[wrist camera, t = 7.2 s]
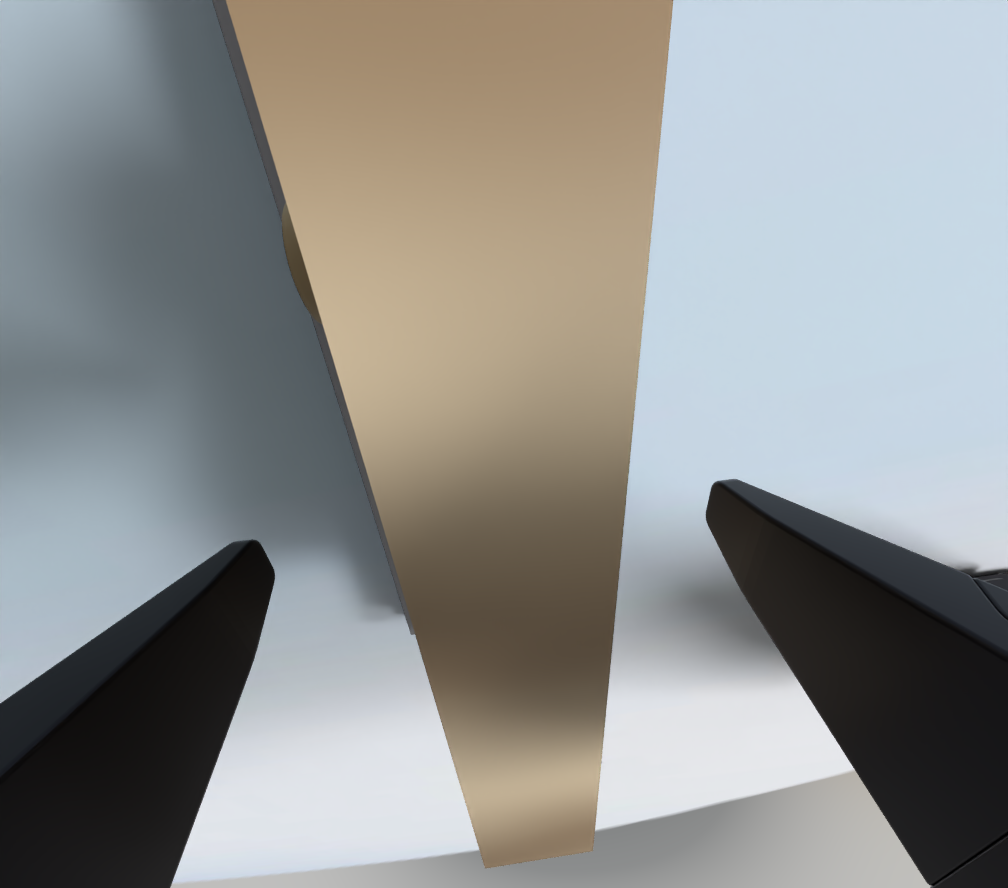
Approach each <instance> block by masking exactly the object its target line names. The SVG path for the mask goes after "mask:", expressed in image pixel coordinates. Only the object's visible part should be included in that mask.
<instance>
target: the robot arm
mask: <svg viewBox="0 0 1008 888" xmlns="http://www.w3.org/2000/svg"><path fill="white" fill-rule="evenodd" d="M706 521H707V524H708V526H709V528H710V530H711V532H712V534H713V536H714V538H715V540H716V542H717V544H718V546H719V548H720V550H721V552H722V554H723V556H724V558H725V560H726V562H727V564H728V566H729V568H730V570H731V572H732V574H733V576H734V578H735V580H736V582H737V584H738V586H739V588H740V589H741V591H742V593H743V595H744V596H745V598H746V600H747V601H748V603H749V604H750V606H751V608H752V609H753V611H754V612H755V614H756V615H757V617H758V619H759V620H760V622H761V623H762V625H763V626H764V628H765V630H766V631H767V633H768V634H769V636H770V637H771V639H772V640H773V642H774V644H775V645H776V647H777V648H778V650H779V651H780V653H781V655H782V656H783V658H784V659H785V661H786V662H787V664H788V666H789V667H790V669H791V670H792V672H793V673H794V675H795V677H796V678H797V680H798V681H799V683H800V684H801V686H802V688H803V689H804V691H805V692H806V694H807V695H808V697H809V699H810V700H811V702H812V703H813V705H814V706H815V708H816V710H817V711H818V713H819V714H820V716H821V717H822V719H823V721H824V722H825V724H826V725H827V727H828V728H829V730H830V732H831V733H832V735H833V736H834V738H835V739H836V741H837V742H838V744H839V746H840V747H841V749H842V750H843V752H844V753H845V755H846V757H847V758H848V760H849V761H850V763H851V764H852V766H853V768H854V769H855V771H856V772H857V774H858V775H859V777H860V779H861V780H862V782H863V783H864V785H865V786H866V788H867V789H868V791H869V793H870V794H871V796H872V797H873V799H874V801H875V802H876V804H877V805H878V807H879V808H880V810H881V812H882V813H883V815H884V816H885V818H886V819H887V821H888V822H889V824H890V826H891V827H892V829H893V830H894V832H895V833H896V835H897V836H898V838H899V840H900V841H901V843H902V845H903V846H904V847H905V849H906V851H907V852H908V854H909V855H910V857H911V858H912V860H913V862H914V863H915V865H916V866H917V868H918V870H919V871H920V873H921V874H922V876H923V877H924V879H925V880H926V882H927V883H928V884H929V885H931V887H930V888H1008V573H1004V574H996V575H989V576H982V577H975V578H972V577H971V576H970V575H968V574H965V573H963V572H961V571H958V570H956V569H953V568H951V567H948V566H946V565H944V564H941V563H939V562H936V561H934V560H931V559H929V558H927V557H924V556H922V555H919V554H917V553H914V552H912V551H910V550H907V549H905V548H902V547H900V546H897V545H895V544H893V543H890V542H888V541H885V540H883V539H880V538H878V537H876V536H873V535H871V534H868V533H866V532H863V531H861V530H859V529H856V528H854V527H851V526H849V525H846V524H844V523H842V522H839V521H837V520H834V519H832V518H829V517H827V516H825V515H822V514H820V513H817V512H815V511H812V510H810V509H808V508H805V507H803V506H800V505H798V504H795V503H793V502H791V501H788V500H786V499H783V498H781V497H779V496H776V495H774V494H771V493H769V492H766V491H764V490H762V489H759V488H757V487H754V486H752V485H749V484H747V483H745V482H742V481H740V480H737V479H729V480H721V481H717V482H715V483H714V484H713V485H712V487H711V491H710V496H709V501H708V505H707V510H706ZM274 581H275V573H274V569H273V567H272V565H271V563H270V561H269V559H268V557H267V555H266V553H265V551H264V549H263V547H262V545H261V544H260V543H259V542H258V541H257V540H244V541H237V542H233V543H231V544H229V545H228V546H226V547H225V548H223V549H222V550H220V551H219V552H218V553H216V554H215V555H213V556H212V557H210V558H209V559H207V560H206V561H205V562H203V563H202V564H200V565H199V566H197V567H196V568H194V569H193V570H192V571H190V572H189V573H187V574H186V575H184V576H183V577H182V578H180V579H179V580H177V581H176V582H174V583H173V584H171V585H170V586H169V587H167V588H166V589H164V590H163V591H161V592H160V593H159V594H157V595H156V596H154V597H153V598H151V599H150V600H148V601H147V602H146V603H144V604H143V605H141V606H140V607H138V608H137V609H135V610H134V611H133V612H131V613H130V614H128V615H127V616H125V617H124V618H123V619H121V620H120V621H118V622H117V623H115V624H114V625H112V626H111V627H110V628H108V629H107V630H105V631H104V632H102V633H101V634H100V635H98V636H97V637H95V638H94V639H92V640H91V641H89V642H88V643H87V644H85V645H84V646H82V647H81V648H79V649H78V650H76V651H75V652H74V653H72V654H71V655H69V656H68V657H66V658H65V659H64V660H62V661H61V662H59V663H58V664H56V665H55V666H53V667H52V668H51V669H49V670H48V671H46V672H45V673H43V674H42V675H40V676H39V677H38V678H36V679H35V680H33V681H32V682H30V683H29V684H28V685H26V686H25V687H23V688H22V689H20V690H19V691H17V692H16V693H15V694H13V695H12V696H10V697H9V698H7V699H6V700H5V701H3V702H2V703H0V888H170V887H171V884H172V881H173V879H174V876H175V873H176V870H177V868H178V865H179V862H180V860H181V857H182V854H183V851H184V849H185V846H186V843H187V841H188V838H189V835H190V833H191V830H192V827H193V824H194V822H195V819H196V816H197V814H198V811H199V808H200V805H201V803H202V800H203V797H204V795H205V792H206V789H207V786H208V784H209V781H210V778H211V776H212V773H213V770H214V767H215V765H216V762H217V759H218V757H219V754H220V751H221V748H222V746H223V743H224V740H225V738H226V735H227V732H228V730H229V727H230V724H231V721H232V719H233V716H234V713H235V711H236V708H237V705H238V702H239V700H240V697H241V694H242V692H243V689H244V686H245V683H246V681H247V678H248V675H249V673H250V670H251V667H252V664H253V661H254V658H255V654H256V651H257V648H258V644H259V640H260V636H261V632H262V628H263V624H264V620H265V617H266V613H267V609H268V605H269V601H270V597H271V593H272V589H273V585H274Z"/></svg>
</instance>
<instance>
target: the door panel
mask: <svg viewBox="0 0 1008 888" xmlns="http://www.w3.org/2000/svg"><path fill="white" fill-rule="evenodd" d="M226 2H227V6H228V9H229V13H230V16H231V19H232V23H233V26H234V29H235V33H236V36H237V39H238V43H239V46H240V49H241V53H242V56H243V59H244V63H245V66H246V69H247V73H248V76H249V79H250V83H251V86H252V90H253V93H254V96H255V100H256V103H257V106H258V110H259V113H260V116H261V120H262V123H263V126H264V130H265V133H266V136H267V140H268V143H269V146H270V150H271V153H272V156H273V160H274V163H275V167H276V170H277V173H278V177H279V180H280V183H281V187H282V190H283V193H284V197H285V200H286V203H285V205H284V208H283V213H282V232H283V241H284V247H285V252H286V256H287V260H288V264H289V268H290V271H291V274H292V277H293V280H294V283H295V285H296V288H297V290H298V292H299V295H300V297H301V299H302V301H303V303H304V305H305V306H306V308H307V310H308V311H309V313H310V314H311V315H312V316H313V318H314V319H315V320H316V321H318V322H319V323H321V324H323V327H324V331H325V334H326V337H327V341H328V344H329V347H330V351H331V354H332V357H333V361H334V364H335V367H336V371H337V374H338V377H339V381H340V384H341V387H342V391H343V394H344V398H345V401H346V404H347V408H348V411H349V414H350V418H351V421H352V424H353V428H354V431H355V434H356V438H357V441H358V444H359V448H360V451H361V454H362V458H363V461H364V464H365V468H366V471H367V475H368V478H369V481H370V485H371V488H372V491H373V495H374V498H375V501H376V505H377V508H378V511H379V515H380V518H381V521H382V525H383V528H384V531H385V535H386V538H387V542H388V545H389V548H390V552H391V555H392V558H393V562H394V565H395V568H396V572H397V575H398V578H399V582H400V585H401V588H402V592H403V595H404V598H405V602H406V605H407V608H408V612H409V615H410V619H411V622H412V625H413V629H414V632H415V635H416V639H417V642H418V645H419V649H420V652H421V655H422V659H423V662H424V665H425V669H426V672H427V675H428V679H429V682H430V685H431V689H432V692H433V696H434V699H435V702H436V706H437V709H438V712H439V716H440V719H441V722H442V726H443V729H444V732H445V736H446V739H447V742H448V746H449V749H450V752H451V756H452V759H453V762H454V766H455V769H456V773H457V776H458V779H459V783H460V786H461V789H462V793H463V796H464V799H465V803H466V806H467V809H468V813H469V816H470V819H471V823H472V826H473V829H474V833H475V836H476V839H477V843H478V846H479V850H480V853H481V856H482V859H483V863H484V866H485V868H491V867H497V866H504V865H510V864H516V863H522V862H527V861H535V860H540V859H547V858H553V857H559V856H565V855H572V854H578V853H583V852H590V851H593V843H594V833H595V822H596V812H597V801H598V791H599V780H600V769H601V759H602V748H603V738H604V727H605V717H606V706H607V695H608V685H609V674H610V664H611V653H612V643H613V632H614V621H615V611H616V600H617V590H618V579H619V568H620V558H621V547H622V537H623V526H624V516H625V505H626V494H627V484H628V473H629V463H630V452H631V442H632V431H633V420H634V410H635V399H636V389H637V378H638V367H639V357H640V346H641V336H642V325H643V315H644V304H645V293H646V283H647V272H648V262H649V251H650V241H651V230H652V219H653V209H654V198H655V188H656V177H657V166H658V156H659V145H660V135H661V124H662V114H663V103H664V92H665V82H666V71H667V61H668V50H669V40H670V29H671V18H672V8H673V0H226Z"/></svg>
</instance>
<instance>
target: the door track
mask: <svg viewBox="0 0 1008 888" xmlns="http://www.w3.org/2000/svg"><path fill="white" fill-rule="evenodd" d="M212 1H213V4H214V7H215V11H216V14H217V17H218V20H219V23H220V27H221V30H222V33H223V36H224V39H225V43H226V46H227V49H228V52H229V55H230V58H231V62H232V65H233V68H234V71H235V74H236V78H237V81H238V84H239V87H240V90H241V94H242V97H243V100H244V103H245V106H246V110H247V113H248V116H249V119H250V122H251V125H252V129H253V132H254V135H255V138H256V141H257V145H258V148H259V151H260V154H261V157H262V161H263V164H264V167H265V170H266V173H267V177H268V180H269V183H270V186H271V189H272V192H273V196H274V199H275V202H276V205H277V208H278V212H279V215H280V218H281V221H282V213H283V208H284V205H285V203H286V200H285V197H284V193H283V190H282V187H281V183H280V180H279V177H278V173H277V170H276V167H275V163H274V160H273V156H272V153H271V150H270V146H269V143H268V140H267V136H266V133H265V130H264V126H263V123H262V120H261V116H260V113H259V110H258V106H257V103H256V100H255V96H254V93H253V90H252V86H251V83H250V79H249V76H248V73H247V69H246V66H245V63H244V59H243V56H242V53H241V49H240V46H239V43H238V39H237V36H236V33H235V29H234V26H233V23H232V19H231V16H230V13H229V9H228V6H227V2H226V0H212ZM311 317H312V320H313V323H314V327H315V330H316V333H317V336H318V339H319V342H320V346H321V349H322V352H323V355H324V358H325V362H326V365H327V368H328V371H329V374H330V378H331V381H332V384H333V387H334V390H335V394H336V397H337V400H338V403H339V406H340V409H341V413H342V416H343V419H344V422H345V425H346V429H347V432H348V435H349V438H350V441H351V445H352V448H353V451H354V454H355V457H356V461H357V464H358V467H359V470H360V473H361V477H362V480H363V483H364V486H365V489H366V492H367V496H368V499H369V502H370V505H371V508H372V512H373V515H374V518H375V521H376V524H377V528H378V531H379V534H380V537H381V540H382V544H383V547H384V550H385V553H386V556H387V559H388V563H389V566H390V569H391V572H392V575H393V579H394V582H395V585H396V588H397V591H398V595H399V598H400V601H401V604H402V607H403V611H404V614H405V617H406V620H407V623H408V626H409V630H410V633H411V635H413V634H415V632H414V629H413V625H412V622H411V619H410V615H409V612H408V608H407V605H406V602H405V598H404V595H403V592H402V588H401V585H400V582H399V578H398V575H397V572H396V568H395V565H394V562H393V558H392V555H391V552H390V548H389V545H388V542H387V538H386V535H385V531H384V528H383V525H382V521H381V518H380V515H379V511H378V508H377V505H376V501H375V498H374V495H373V491H372V488H371V485H370V481H369V478H368V475H367V471H366V468H365V464H364V461H363V458H362V454H361V451H360V448H359V444H358V441H357V438H356V434H355V431H354V428H353V424H352V421H351V418H350V414H349V411H348V408H347V404H346V401H345V398H344V394H343V391H342V387H341V384H340V381H339V377H338V374H337V371H336V367H335V364H334V361H333V357H332V354H331V351H330V347H329V344H328V341H327V337H326V334H325V331H324V327H323V324H321V323H319V322H318V321H316V320H315V319H314V318H313V316H312V315H311Z"/></svg>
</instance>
